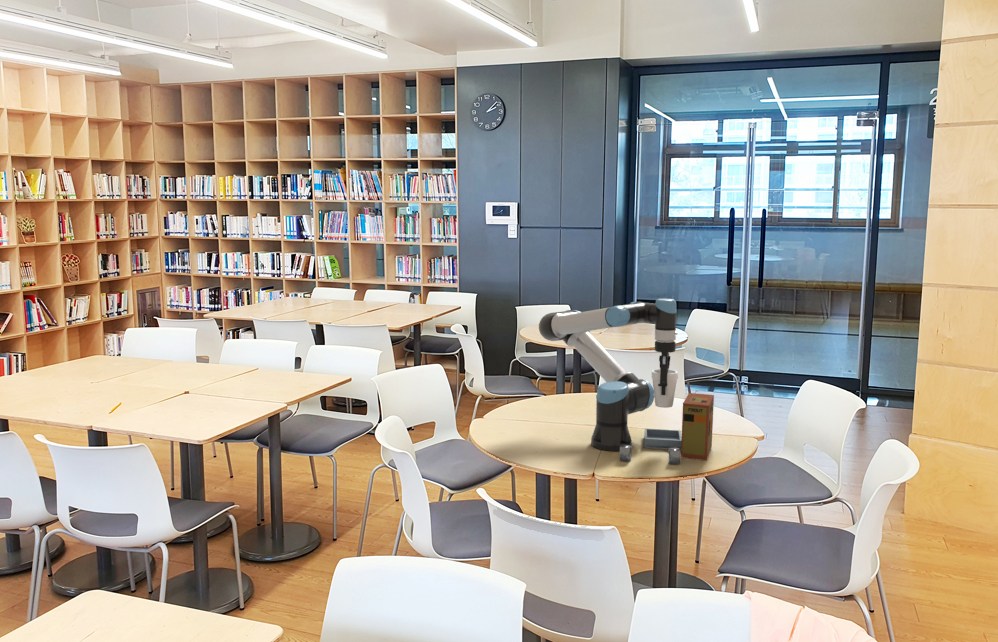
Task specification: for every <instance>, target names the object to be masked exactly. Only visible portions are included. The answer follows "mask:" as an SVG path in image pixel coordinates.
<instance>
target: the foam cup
mask: <svg viewBox="0 0 998 642" xmlns="http://www.w3.org/2000/svg"><path fill="white" fill-rule="evenodd" d="M678 374H679V372H678V371H677V370H675V369H670V368H669V369H668V373H667V404H662V403H659V399H660V386H658V384H660V368H657V369H656V368H655V369H652V370H651V379H652V387H653V390H654V404H655V405H654V406H655V407H657V408H661V409H662V408H664V409H665V408H667V409H668V408H672V407H673V405H674V399H675V395H676V394H675V393H676V386H677V381H678V377H679V375H678Z"/></svg>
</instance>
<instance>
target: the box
mask: <svg viewBox="0 0 998 642" xmlns="http://www.w3.org/2000/svg"><path fill="white" fill-rule="evenodd" d="M714 401H715V395H714V394H706V393H695V392H689V393H688V394H687V396H686V397H685V399H684V401H683V402H682V414H681V415H682V421H681V423H682V424H681V436H682V441H681V456H680V459H681V458H683V459H691V460H698V461H699V460H700V461H708V458H709V456H710V454H711V450H712V445H713V444H712V443H713V428H714V427H713V425H714V405H715V402H714Z"/></svg>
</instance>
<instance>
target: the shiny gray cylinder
mask: <svg viewBox="0 0 998 642" xmlns="http://www.w3.org/2000/svg"><path fill="white" fill-rule="evenodd" d="M668 464H669V465H673V466H679V465H681V449H679V448H669V449H668Z"/></svg>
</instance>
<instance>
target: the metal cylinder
mask: <svg viewBox="0 0 998 642" xmlns="http://www.w3.org/2000/svg"><path fill="white" fill-rule="evenodd" d="M618 460H619V461H620V462H622V463H630V462H632V446H629V445H621V446H620V451H619V459H618Z"/></svg>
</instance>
